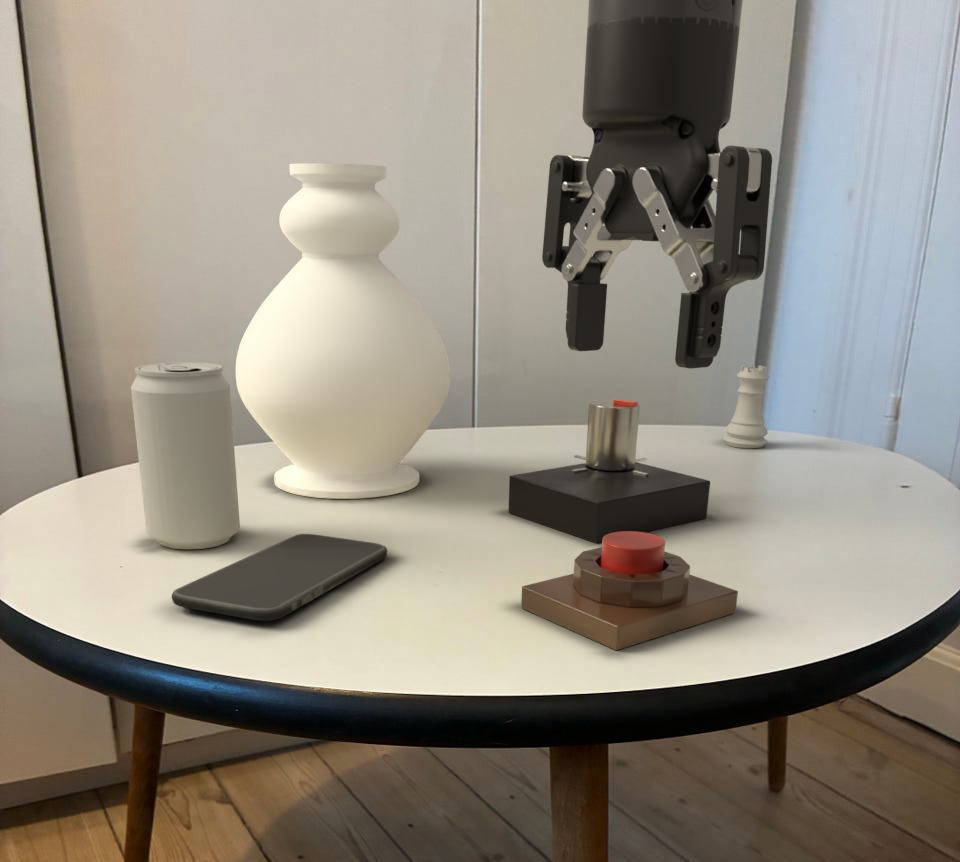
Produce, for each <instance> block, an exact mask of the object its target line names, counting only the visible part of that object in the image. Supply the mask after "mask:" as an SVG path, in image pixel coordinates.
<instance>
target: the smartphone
mask: <svg viewBox="0 0 960 862" xmlns="http://www.w3.org/2000/svg"><path fill="white" fill-rule="evenodd" d="M387 554H388V549H387V547H386V545H383V544H382V543H378V542H377V543H376V542H370V541H364V540H357V539H349V538H342V537H336V536H335V537H334V536H328V535H321V534H314V533H299V534H295V535H292V536H290V537H289V538H286V539H283V540H281V541H279V542H276V543H275V544H273V545H270V546H269V547H266V548H264V549H261V550H259V551H257V552H254V553H252V554H251V555H249V556H246V557H243V558H242V559H239V560H238V561H235V562H233V563H230V564H229V565H226V566H224V567H222V568H220V569H218V570H216V571H213V572H210V573H209V574H207V575H204V576H202V577H200V578H197V579H196V580H194V581H191V582H189V583H187V584H185V585H182V586H181V587H178V588H176V589H174V590H173V592H172V593H171V600H172V603H173V604H174V605H176V606H178V607H181V608H183V609H187V610H198V611H201V612H208V613H213V614H220V615H225V616H230V617H236V618H242V619H247V620H252V621H253V620H254V621H261V622H266V621H267V622H269V621H275V620H279V619H282V618H283V617H285V616H287V615H288V614H290V613H293V612H294V611H295V610H297V609H300V607H302V606H304V605H306V604H308V603H309V602H311V601H313V600H314V599H316V598H318V597H320V596H321V595H323V594H325V593H327V592H329V591H330V590H332V589H334V588H335V587H337V586H339V585H341V584H343V583H344V582H346V581H348V580H349V579H351V578H353V577H355V576H357V575H358V574H360V573H362V572H363V571H365V570H367V569H369V568H370V567H372V566H374V565H376V564H377V563H379V562H380V561H382V560H384V559H386V557H387Z"/></svg>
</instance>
